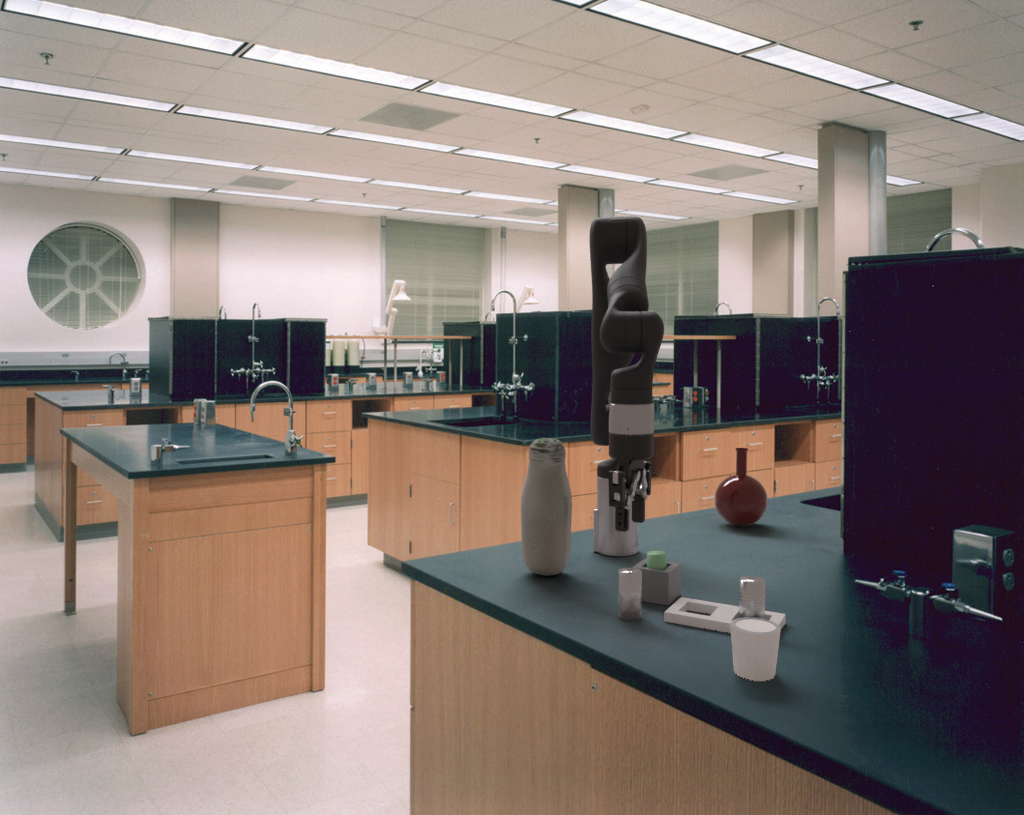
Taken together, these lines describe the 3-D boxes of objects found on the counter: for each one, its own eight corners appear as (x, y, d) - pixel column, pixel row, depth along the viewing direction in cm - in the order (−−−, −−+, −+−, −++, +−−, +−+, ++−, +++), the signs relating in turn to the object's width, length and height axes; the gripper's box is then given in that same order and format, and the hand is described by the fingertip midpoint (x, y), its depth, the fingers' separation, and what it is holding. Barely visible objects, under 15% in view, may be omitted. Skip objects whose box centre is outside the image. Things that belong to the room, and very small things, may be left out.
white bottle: (514, 577, 156) (513, 439, 154) (534, 564, 166) (534, 434, 163) (559, 584, 152) (559, 442, 150) (578, 570, 161) (578, 436, 159)
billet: (614, 617, 133) (614, 572, 133) (623, 610, 137) (623, 566, 136) (636, 621, 131) (636, 575, 131) (644, 614, 135) (645, 569, 134)
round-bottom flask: (706, 520, 206) (707, 445, 205) (754, 519, 208) (755, 444, 206) (725, 532, 193) (726, 452, 192) (776, 530, 195) (777, 451, 193)
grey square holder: (631, 599, 143) (631, 567, 142) (645, 588, 149) (645, 558, 148) (668, 605, 139) (668, 572, 139) (680, 594, 145) (681, 563, 145)
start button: (643, 586, 143) (644, 554, 143) (650, 581, 146) (650, 549, 146) (662, 589, 141) (662, 556, 141) (668, 583, 145) (669, 552, 144)
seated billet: (736, 628, 128) (737, 581, 127) (742, 621, 131) (743, 574, 131) (761, 633, 126) (762, 584, 125) (766, 625, 129) (767, 578, 129)
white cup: (722, 663, 114) (723, 617, 113) (767, 662, 115) (768, 615, 114) (739, 684, 107) (740, 634, 107) (788, 682, 108) (789, 633, 107)
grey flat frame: (664, 621, 131) (664, 612, 131) (680, 605, 139) (681, 597, 139) (774, 641, 122) (774, 631, 122) (785, 623, 130) (785, 614, 130)
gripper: (636, 435, 123) (635, 538, 125) (666, 427, 136) (665, 520, 137) (593, 433, 127) (593, 532, 128) (626, 425, 139) (625, 516, 141)
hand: (630, 526), depth 133 cm, fingers open, 7 cm apart
